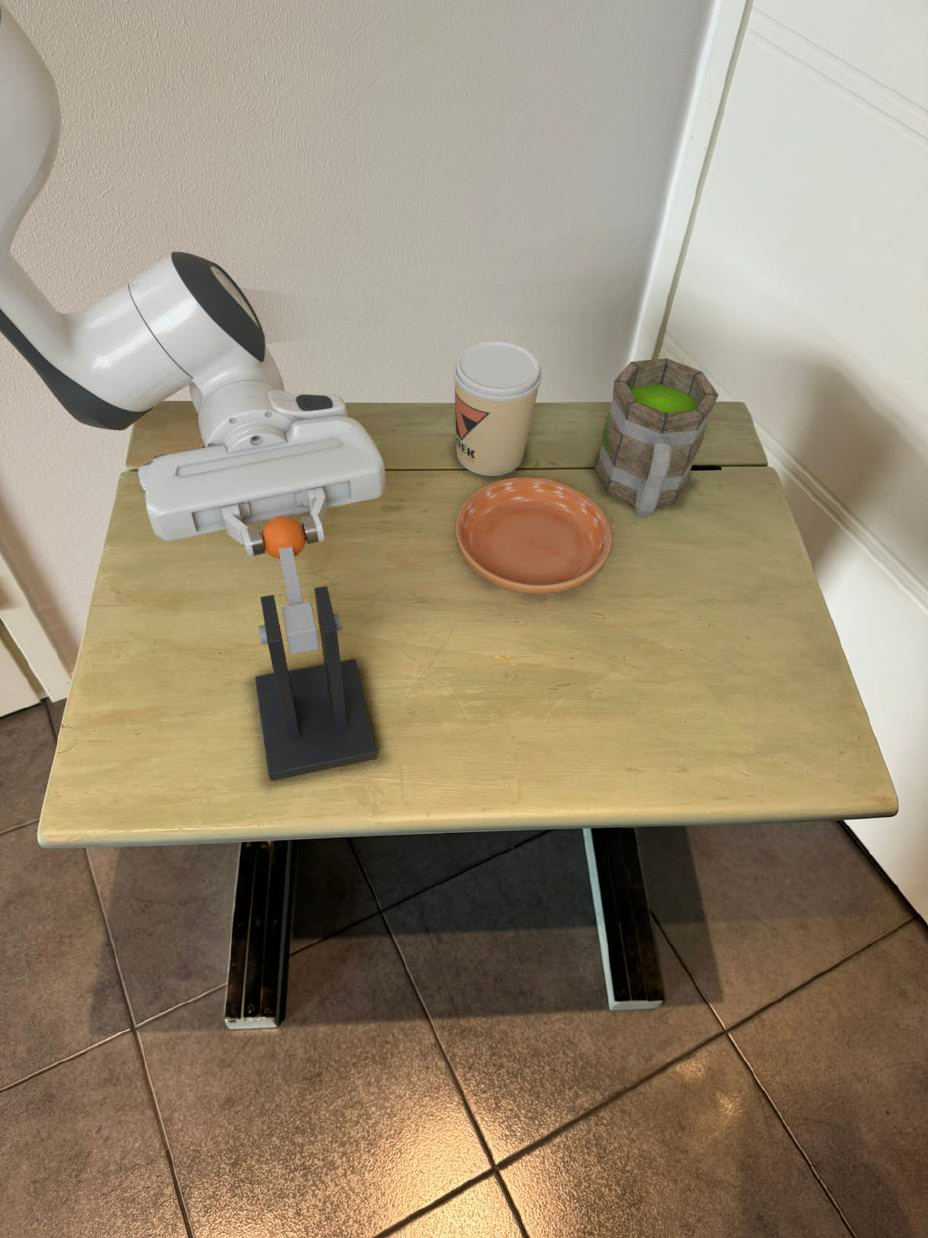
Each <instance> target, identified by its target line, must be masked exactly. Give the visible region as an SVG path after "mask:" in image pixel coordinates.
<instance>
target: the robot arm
mask: <svg viewBox="0 0 928 1238" xmlns="http://www.w3.org/2000/svg"><path fill="white" fill-rule="evenodd" d="M61 131H62V109H61V103H60V97H59V93H58V89H57V85H56V82H55V80H54V76H53V75H52V73H51V70H50V69H49V67H48V65H47V64H46V62H45V61H44V59H43V57H42V56H41V54H40V53H39V51H38V50H37V48H36V47H35V45H34V43H33V42H32V41H31V39H30V38H29V36H28V35H27V34H26V32H25V31H24V30H23V28H22V27H21V25H20V24H19V22H18V21H17V20H16V18H15V16H14V15H12V13H11V12H10V11H9V9H8V8H7V7H6V6H5V4H4V3H3V2H2V1H1V0H0V333H1V335H2V336H3V337H4V338H5V339H6V340H7V341H8V342H9V343H10V344H11V345H12V346H13V348H15V349H16V350H17V351H18V353H19V354H20V355H21V356H22V357H23V359H25V360H26V361H27V363H28V364H29V365H30V366H31V368H32V369H33V370H34V371H35V373H36V374H37V375H38V376H39V377H40V379H41V380H42V382H43V383H44V384H45V386H46V387H47V388H48V389H49V391H50V392H51V393H52V395H53V396H54V397H55V398H56V400H57V401H58V402H59V404H60V405H61V406H62V407H63V408H64V410H65V411H66V412H68V414H69V415H71V417H72V418H73V419H74V420H76V421H77V422H78V423H80V424H82V425H86V426H88V427H93V428H97V429H101V430H102V429H103V430H107V431H109V430H110V431H119V432H120V431H125V430H127V429H128V428H129V427H131V426H132V425H133V424H134V423H136V422H137V421H139V420H140V419H141V418H142V417H143V416H146V415H147V414H148V413H149V412H150V411H152V410H153V409H154V407H156V406H157V405H158V404H160V403H162V402H164V401H165V400H167V399H168V398H169V397H172V396H173V395H175V394H176V393H178V392H179V391H181V390H182V389H185V388H186V387H188V389H189V394H190V399H191V402H192V405H193V408H194V410H195V411H196V413H197V422H198V430H199V433H200V437H201V441H202V445H203V446H201V447H195V448H191V449H185V450H182V451H178V452H174V453H169V454H168V453H163V454H159V455H155V456H153V457H152V460H151V461H148V462H147V463H144V465H140V467H139V468H138V471H137V478H138V484H139V487H140V489H141V490H142V491H143V492H144V496H145V508H146V512H147V516H148V519H149V523H150V525H151V528H152V531H153V533H154V535H155V536H156V537H158V538H159V539H161V540H162V541H165V542H173V541H180V540H184V539H188V538H189V539H190V538H193V537H198V536H203V535H208V534H213V533H217V532H222V531H226V533H227V536H228V537H230V538H231V539H233V540H234V541H236V542H237V543H239V544H240V545H242V546H244V549H245V552H246V556H247V558H252V557H256V556H260V555H265V554H266V550H265V549H264V543H263V539H262V535H261V534H262V531H261V529H260V526H259V525H256V526H252V527H249V526H251V525H255V524H260V523H264V522H266V523H267V522H268V521H270V520H271V519H273V518H275V517H278V516H288V517H295V516H299V515H303V514H304V515H305V514H309V513H310V514H309V515H305V516H300V522H301V523H300V524H301V525H302V527H303V529H304V532H305V537H306V541H305V544H306V545H311V544H316V543H321V542H324V541H325V533H324V528H323V525H324V523H325V521H326V518H327V516H328V509H333V508H338V507H343V506H348V505H351V504H357V503H361V502H362V503H363V502H366V501H367V502H368V501H372V500H375V499H378V498H380V497H381V496H382V495H383V493H384V491H385V489H386V467H385V462H384V459H383V457H382V455H381V453H380V450H379V449H378V446H377V445H376V443H375V442H374V440H373V438H372V437H371V435H370V434H369V432H368V431H367V430H366V428H365V427H364V426H363V425H362V423H360V422H359V421H357V419H354V418H352V417H349V414H348V410H347V405H346V402H345V400H344V399H343V397H341V396H339V395H334V394H311V393H300V392H294V391H293V392H292V391H287V390H285V385H284V380H283V378H282V375H281V372H280V370H279V367H278V365H277V363H276V361H275V359H274V357H273V355H272V354H271V352H270V349H269V348H268V347H267V345H266V335H265V331H264V330H263V326H262V324H261V322H260V319H259V318H258V315H257V314H256V312H255V310H254V308H253V306H252V304H251V303H250V302H249V299H248V298H247V297H246V295H245V293H244V292H243V291H242V289H241V287H240V286H239V285H238V284H237V283H236V282H235V280H234V279H233V278H232V276H230V274H229V273H228V272H227V271H226V270H224V269H223V267H221V266H220V265H219V264H218V263H216V262H213V261H211V260H209V259H207V258H204V257H202V256H198V255H196V254H192V253H189V252H185V251H184V252H183V251H172V252H171V253H170V254H167V255H166V256H164V257H162V258H161V259H159V260H157V261H156V262H154V263H153V264H151V265H149V266H147V267H146V268H144V269H143V270H142V271H139V272H138V273H136V275H134V276H132V277H131V278H129V279H128V280H127V281H126V282H124V283H123V284H122V285H120V286H119V287H117V288H115V289H113V290H112V291H111V292H109V293H108V294H106V295H104V296H103V297H101V298H100V299H98V300H97V301H95V302H93V303H92V304H90V305H89V306H87V307H85V308H83V309H81V310H78V311H74V312H73V311H72V312H60V311H58V310H57V309H56V307H54V306H53V305H52V303H51V301H49V299H48V298H47V297H46V295H45V294H44V293H43V291H42V290H41V289H40V288H39V286H37V284H36V283H35V282H34V280H33V279H32V278H31V277H30V275H28V273H27V272H26V271H25V269H24V268H23V267H22V265H20V263H19V262H18V260H16V258H15V257H14V256H13V254H12V253H11V247H12V244H13V242H14V239H15V237H16V233H17V231H18V229H19V228H20V226H21V224H22V222H23V221H24V218H25V217H26V215H27V213H28V211H29V210H30V209H31V207H32V206H33V204H34V202H35V201H36V199H37V198H38V197H39V195H40V194H41V192H42V191H43V189H44V188H45V187H46V184H47V183H48V180H49V178H50V176H51V174H52V171H53V168H54V165H55V162H56V160H57V156H58V152H59V147H60V142H61V133H62V132H61Z"/></svg>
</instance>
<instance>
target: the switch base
mask: <svg viewBox="0 0 928 1238" xmlns="http://www.w3.org/2000/svg"><path fill="white" fill-rule="evenodd" d="M313 590H314V597H315V598H314V599H315V607H316V615H317V620H318V628H319V634H320V635H319V636H320V642H321V652H322V659H323V664H318V665H317V664H316V665H313V666H307V667H301V668H296V669H290V670H289V667H288V661H287V656H286V652H285V645H284V640H283V635H282V629H281V624H280V619H279V615H278V609H277V604H276V598H275V595H274V594H269V595H263V596H260V605H261V610H262V616H263V623H264V624H263V625H259V626H258V633H259V639H260V643H261V645H267V647H268V652H269V657H270V660H271V665H272V670H273V673H269V674H264V675H257V676H255V677H254V680H255V687H256V694H257V702H258V709H259V717H260V724H261V731H262V739H263V745H264V753H265V760H266V766H267V767H266V768H267V774H268V777H269V781H270V782H272V781H273V782H274V781H278V780H282V779H289V778H292V777H296V776H302V775H307V774H311V773H316V772H321V771H325V770H331V769H335V768H341V767H344V766H349V765H350V766H351V765H354V764H359V763H365V762H368V761H374V760H377V759H378V750H377V745H376V742H375V737H374V733H373V729H372V724H371V719H370V715H369V711H368V707H367V702H366V699H365V694H364V689H363V686H362V682H361V677H360V672H359V668H358V664H357V660H356V658H351V659H345V660H341V654H340V645H339V635H338V632H342V630H343V628H342V620H341V615H340V612H334V609H333V606H332V601H331V596H330V592H329V587H328V585H323V586H318V587H314V588H313Z"/></svg>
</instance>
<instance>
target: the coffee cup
mask: <svg viewBox="0 0 928 1238" xmlns="http://www.w3.org/2000/svg"><path fill="white" fill-rule="evenodd" d="M452 370H453V378H454V414H455V415H454V417H455V419H454V420H455V446H456V447H455V449H456V456H457V459H458V461H459V463H460V464H461V465H462V466H463V467H464V468H465V469H466V470H468V471H470V472H472V473H475V474H476V475H479V476H480V475H481V476H485V477H500V476H503V475H504V476H505V475H508V474H510V473H512V472H513V471H515V470H516V469H517V468H518V467H519V466H520V465H521V463H522V461H523V459H524V454H525V451H526V445H527V442H528V438H529V433H530V429H531V425H532V420H533V416H534V415H533V414H534V412H535V407H536V402H537V396H538V392H539V387H540V385H541V383H542V380H543V379H542V378H543V371H542V368H541V365H540V362H539V361H538V359H537V357H536V356H535V355H534V354H533V353H532V352H530V351H529V350H528V349H526V348H524V347H522V346H520V345H518V344H515V343H511V342H507V341H498V340H491V341H483V342H478V343H474V344H472V345H470V346H468V347H466V348H464V350H462V351H461V352H460V353H459V354H458V357H457V358H456V360H455V361H454V364H453V369H452Z"/></svg>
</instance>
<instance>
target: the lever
mask: <svg viewBox="0 0 928 1238" xmlns="http://www.w3.org/2000/svg"><path fill="white" fill-rule="evenodd" d="M261 535H262V539H263V543H264V549H265V553H267V554H268V555H269V556H271V557H272V558H274V559H276V560H280V565H281V570H282V575H283V581H284V586H285V593H286V598H287V602H288V605H285V606H281V611H282V618H283V624H284V629H285V635H286V640H287V645H288V651H289V655H295V654H301V653H307V652H312V651H319V650H320V644H319V638H318V637H319V636H318V630H317V629H318V628H317V625H316V620H315V615H314V614H315V613H314V611H313V610H314V609H313V605H312V602H311V601H309V602H304V598H303V593H302V588H301V584H300V579H299V573H298V567H297V564H296V563H297V562H296V558H295V557H297V556H298V555H300V554H301V552H302V551H303V549H304V548H305V545H306V537H305V532H304V529H303V527H302V523H300V522H299V521H298V520H297V519H295V518H293V517H292V516H290V517H288V516H278V517H275V518H273V519H271V520H270V521H266V523H265V524H264V526H263V528H262V530H261Z"/></svg>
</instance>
